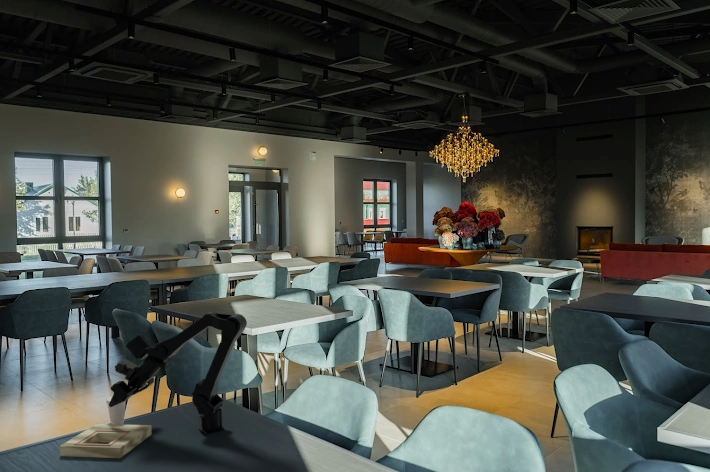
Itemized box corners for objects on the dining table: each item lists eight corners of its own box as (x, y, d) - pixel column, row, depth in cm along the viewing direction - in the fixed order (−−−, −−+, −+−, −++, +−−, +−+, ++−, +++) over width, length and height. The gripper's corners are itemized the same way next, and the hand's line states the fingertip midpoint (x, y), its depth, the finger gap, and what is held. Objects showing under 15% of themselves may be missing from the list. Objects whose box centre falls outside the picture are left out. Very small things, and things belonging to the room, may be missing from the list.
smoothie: (120, 430, 193) (118, 388, 193) (103, 429, 194) (101, 387, 194) (131, 423, 199) (130, 382, 199) (114, 423, 201) (113, 382, 200)
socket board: (96, 432, 192) (96, 423, 192) (151, 434, 189) (151, 424, 189) (60, 456, 173) (59, 445, 173) (120, 458, 170) (120, 447, 170)
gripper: (144, 346, 204) (116, 376, 206) (115, 359, 186) (84, 392, 188) (166, 368, 204) (137, 399, 206) (139, 384, 185) (108, 417, 187)
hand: (117, 401), depth 197 cm, fingers open, 9 cm apart
